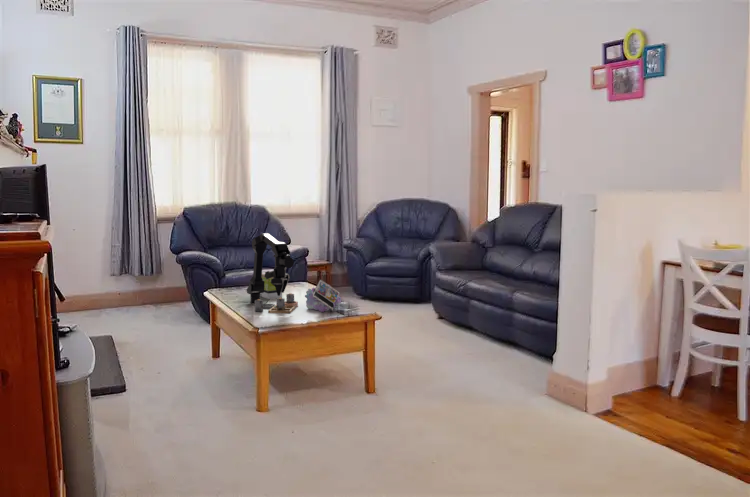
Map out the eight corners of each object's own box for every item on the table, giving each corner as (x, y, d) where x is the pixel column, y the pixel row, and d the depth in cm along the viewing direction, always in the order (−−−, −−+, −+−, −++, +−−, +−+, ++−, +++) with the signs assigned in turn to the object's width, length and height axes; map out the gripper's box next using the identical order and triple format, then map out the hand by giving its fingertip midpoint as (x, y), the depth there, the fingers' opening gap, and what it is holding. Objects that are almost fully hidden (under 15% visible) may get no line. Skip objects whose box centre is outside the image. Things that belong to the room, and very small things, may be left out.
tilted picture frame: (323, 295, 378) (312, 272, 369) (353, 298, 366) (342, 274, 357) (305, 318, 364) (293, 294, 355) (335, 322, 352) (323, 297, 344)
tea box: (257, 295, 403) (256, 272, 401) (271, 294, 409) (271, 271, 407) (268, 299, 391) (267, 275, 389) (282, 297, 397) (282, 274, 395)
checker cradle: (263, 306, 370) (263, 302, 370) (280, 306, 369) (280, 303, 369) (257, 310, 358) (257, 306, 358) (275, 311, 357) (275, 307, 357)
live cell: (277, 310, 355) (277, 297, 354) (285, 310, 354) (285, 297, 353) (275, 312, 350) (275, 298, 349) (283, 312, 350) (283, 298, 349)
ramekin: (285, 305, 372) (285, 300, 371) (298, 306, 371) (298, 301, 371) (282, 308, 364) (281, 303, 363) (295, 309, 363) (295, 303, 363)
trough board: (274, 308, 363) (274, 305, 363) (295, 309, 362) (295, 305, 362) (268, 314, 349) (268, 310, 349) (290, 314, 348) (290, 311, 348)
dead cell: (287, 305, 370) (287, 292, 369) (295, 305, 369) (294, 292, 368) (285, 307, 365) (285, 294, 364) (293, 307, 365) (293, 294, 364)
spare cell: (256, 311, 355) (256, 298, 354) (264, 312, 355) (263, 298, 354) (254, 313, 351) (253, 300, 350) (261, 313, 350) (261, 300, 350)
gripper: (270, 263, 359) (270, 290, 361) (261, 268, 341) (261, 297, 343) (289, 263, 358) (290, 291, 360) (281, 268, 340) (282, 297, 342)
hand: (280, 294), depth 351 cm, fingers open, 9 cm apart
